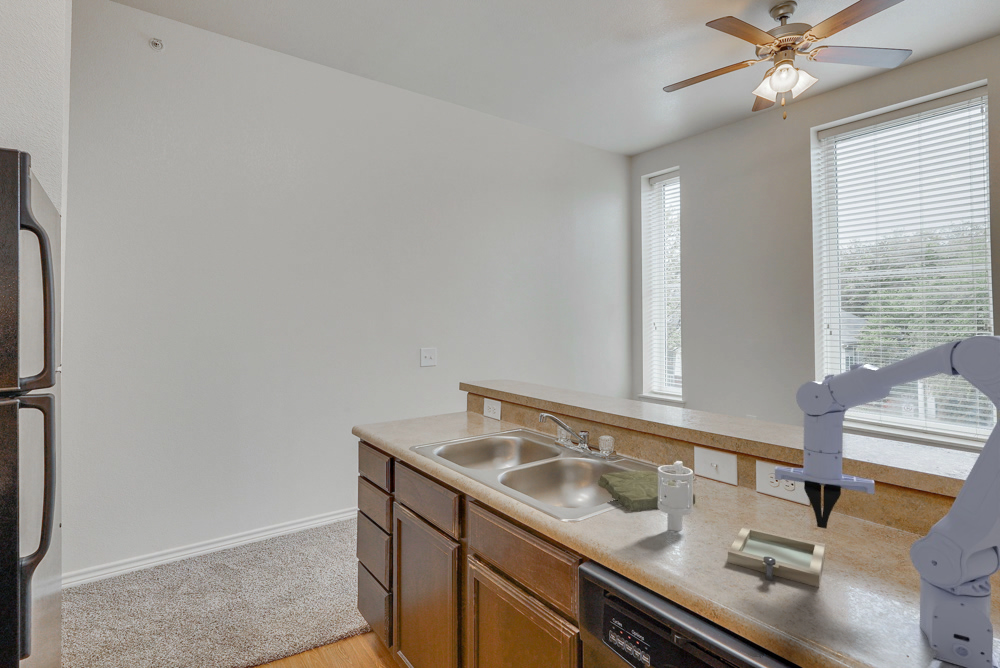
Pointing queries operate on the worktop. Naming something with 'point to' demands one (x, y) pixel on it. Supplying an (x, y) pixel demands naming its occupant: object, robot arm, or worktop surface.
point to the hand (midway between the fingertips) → (822, 525)
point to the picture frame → (779, 554)
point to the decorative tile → (634, 488)
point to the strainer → (675, 494)
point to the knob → (769, 567)
